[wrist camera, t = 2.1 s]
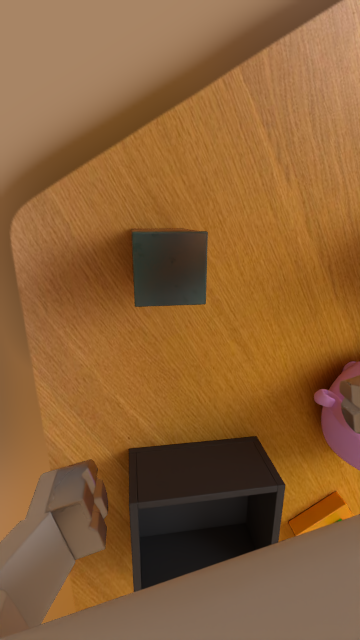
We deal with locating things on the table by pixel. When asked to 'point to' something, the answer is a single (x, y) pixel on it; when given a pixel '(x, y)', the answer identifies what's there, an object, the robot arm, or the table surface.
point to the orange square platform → (321, 515)
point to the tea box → (169, 267)
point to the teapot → (339, 419)
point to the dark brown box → (200, 506)
